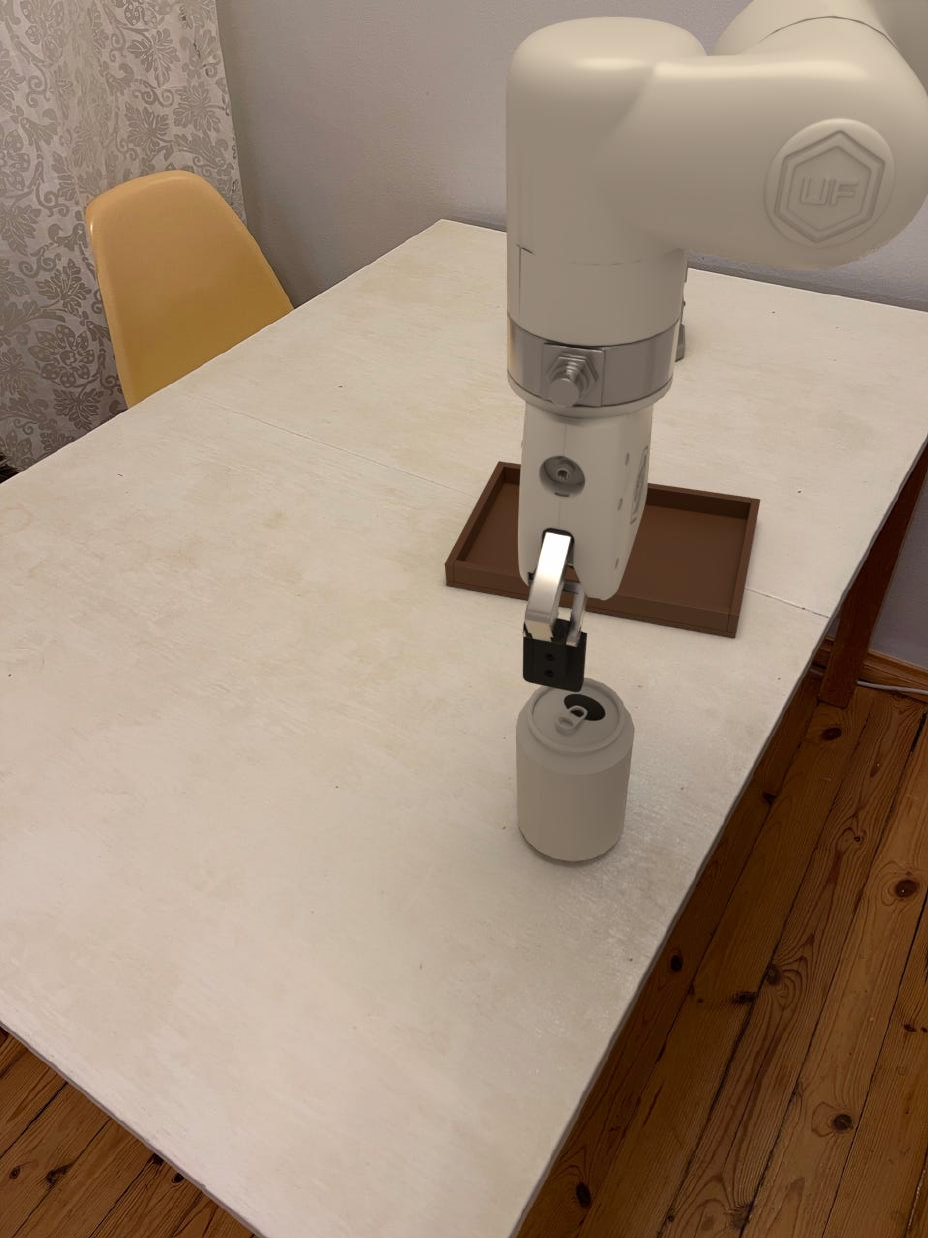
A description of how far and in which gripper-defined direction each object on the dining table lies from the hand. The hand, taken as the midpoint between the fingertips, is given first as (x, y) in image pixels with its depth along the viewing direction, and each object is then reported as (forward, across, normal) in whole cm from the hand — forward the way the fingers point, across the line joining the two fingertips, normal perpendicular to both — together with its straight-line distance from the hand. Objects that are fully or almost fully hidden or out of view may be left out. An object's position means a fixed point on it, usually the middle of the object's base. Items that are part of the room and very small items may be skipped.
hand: (574, 623), depth 55 cm
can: (+20, 0, 0) cm, 20 cm away
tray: (+20, +30, +3) cm, 36 cm away
